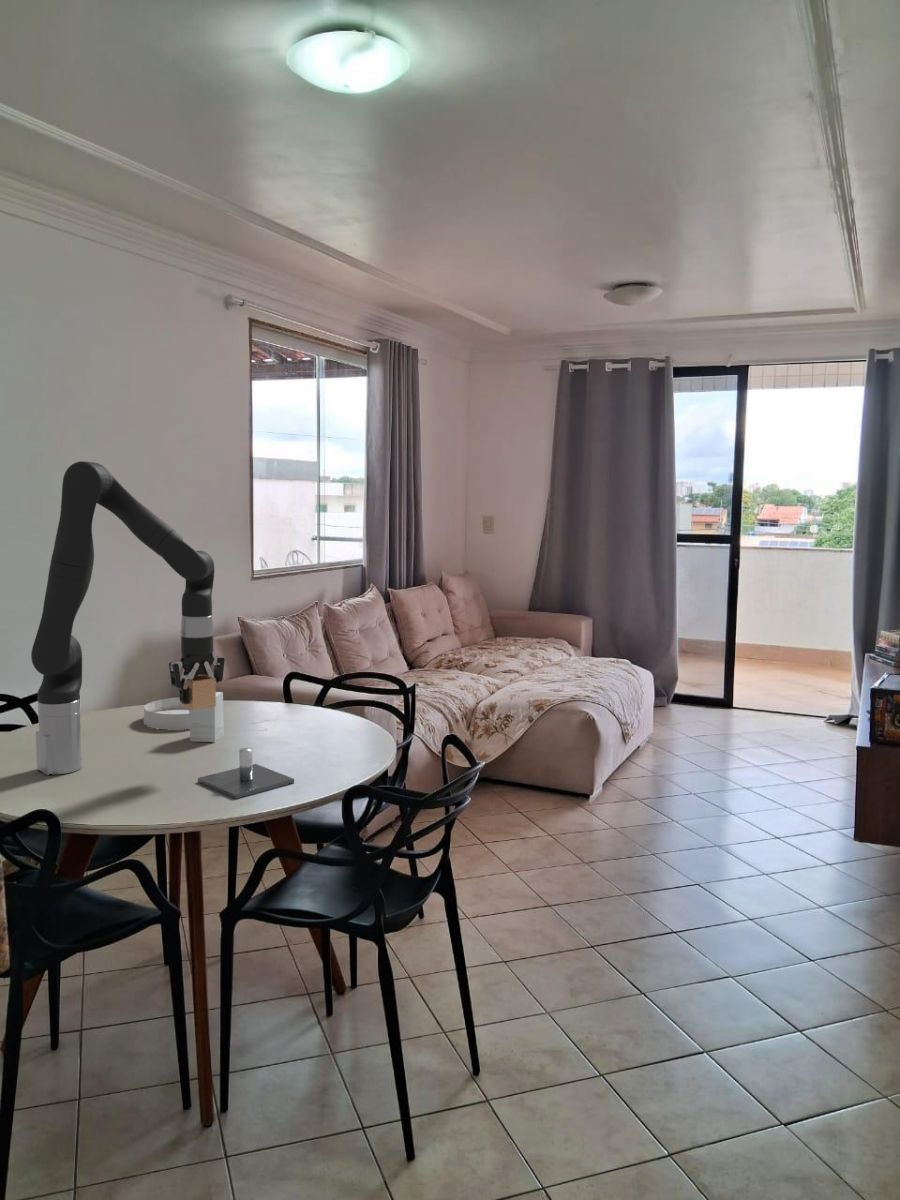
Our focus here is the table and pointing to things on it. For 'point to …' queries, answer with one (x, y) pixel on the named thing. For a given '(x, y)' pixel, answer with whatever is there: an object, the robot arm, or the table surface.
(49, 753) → the robot arm
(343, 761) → the table surface
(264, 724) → the table surface
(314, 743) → the table surface
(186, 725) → the dish
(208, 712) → the supplement box
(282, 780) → the grey square plate
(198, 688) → the wooden cubby box
